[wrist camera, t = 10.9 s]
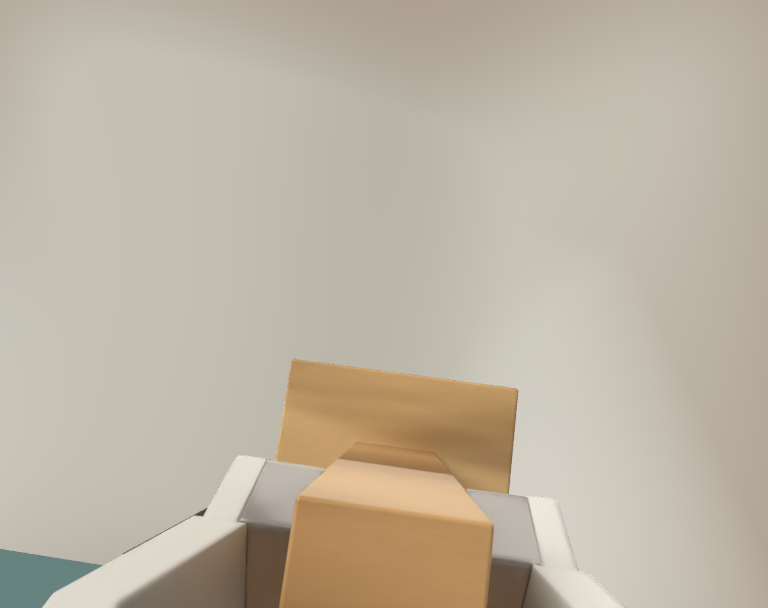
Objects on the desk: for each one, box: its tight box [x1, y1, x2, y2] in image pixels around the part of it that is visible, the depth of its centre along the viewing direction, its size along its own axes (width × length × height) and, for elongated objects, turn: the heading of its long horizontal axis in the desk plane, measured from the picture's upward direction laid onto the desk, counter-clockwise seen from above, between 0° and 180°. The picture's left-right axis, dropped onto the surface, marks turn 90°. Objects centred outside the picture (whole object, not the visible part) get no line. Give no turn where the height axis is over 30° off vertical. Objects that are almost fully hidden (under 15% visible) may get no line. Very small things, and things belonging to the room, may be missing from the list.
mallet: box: [276, 359, 518, 608], centre depth 14 cm, size 15×7×4 cm, turn 179°
